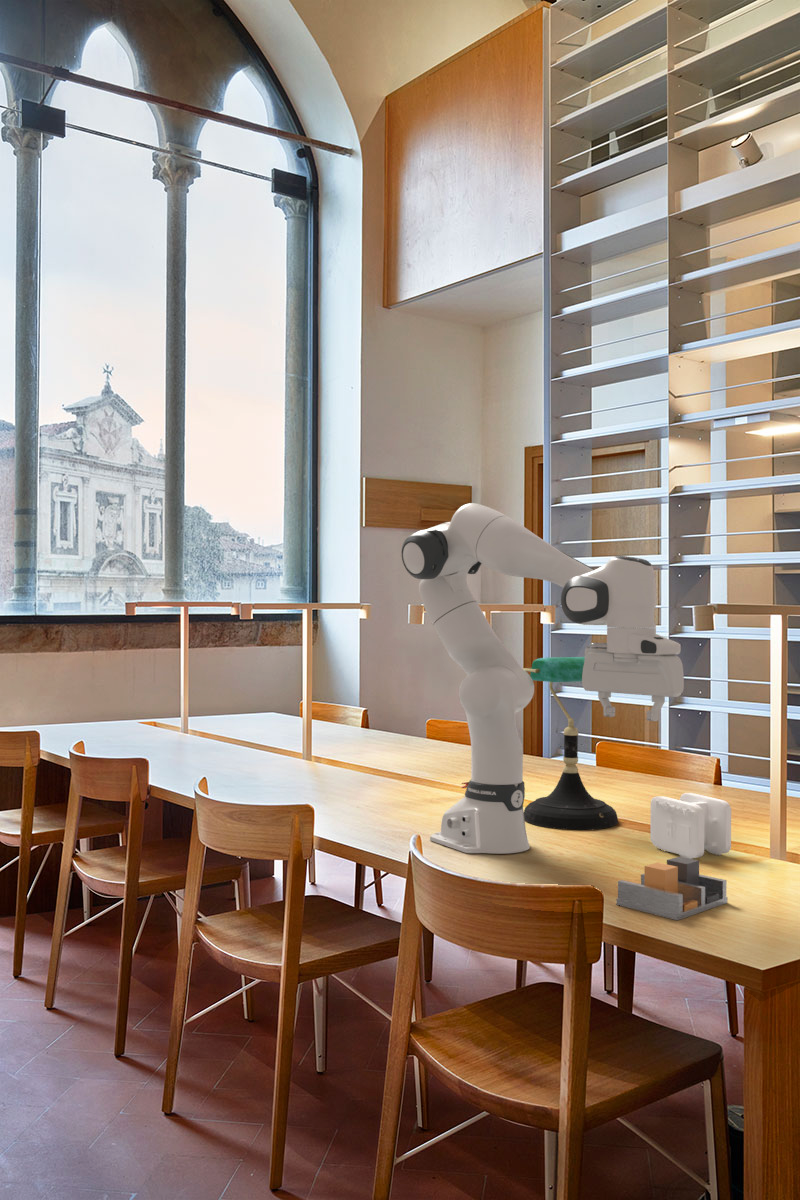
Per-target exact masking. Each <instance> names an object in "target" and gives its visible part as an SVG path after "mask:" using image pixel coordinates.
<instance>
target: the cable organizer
mask: <svg viewBox="0 0 800 1200" xmlns="http://www.w3.org/2000/svg"><path fill="white" fill-rule="evenodd" d="M649 830H650V831H649V832H650V835H649V836H650V842H651V844H653V846H654V847H655V848H657V849H658V850H659V849H662V850H665V851H668V852H670V853H674V854H677V855H679V857H684V858H689V859H697V858H702V856H704V854H705V850H706V851H707V852H708V853H710V854H713V855H716V856H722V855H723V854H727V853H729V852H730V851H731V848H732V807H731V804H729V802H728V801H726V800H724V799H719V798H716V797H711V796H708V795H707V796H706V795H702V794H698V793H695V792H684V793H682V794H681V796H680V797H679V799H676V798H673V797H668V796H663V795H662V796H659V795H658V796H654V797H652V798H651V800H650V829H649ZM665 851H664V852H665ZM668 852H667V853H668Z"/></svg>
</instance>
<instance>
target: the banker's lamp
mask: <svg viewBox="0 0 800 1200" xmlns="http://www.w3.org/2000/svg"><path fill="white" fill-rule="evenodd" d="M584 661H585V656H572V657H571V656H570V657H569V656H567V657H566V656H565V657H563V656H562V657H553V656H552V657H540V658H539V657H538V658H537V659H536V658H535V660H533V661H532V664H531V667H524V668H523V667H522V668H523V669H524V670H525V671H526V672H527V673H530V674H529V675H530V676H531V678H532V680H533V681H535V682H537V681H538V682H547V683H548V682H549V683H548V687H549V691H550V693H551V694H552V696H553V698H554V699H555V701H556V702H557V704H558V705H559V707H560V709H561V710H562V711H563V714H564V715H565V717H566V719H567V720H568V721H567V724H568V725H567V726H566V727H565V728H564V730H563V736H564V737H563V738H564V739H563V759H562V760H563V763H564V764H565V765H564V767H562V768H563V769H562V773H561V776H560V777H559V780H558V782H557V784H556V786H555V787H554V789H553V791H551V793H550V794H548V795H547V796H541V797H539V798H536V799H535V800H533V801H531V802H530V803H528V804H527V805H526V806H525V808H524V809H523V811H524V820H525V822H527V823H528V824H532V825H534V826H537V827H543V828H548V829H557V830H571V831H572V830H573V831H591V830H592V829H593V831H594V830H602V829H609V828H611V827H614V826H616V825H618V823H619V819H618V814H617V812H616V810H615V809H614V808H613V806H611V805H609V804H607V803H606V802H605V801H604V800H602V799H601V800H600V799H597V798H594V797H593V796H592V795H591V794H590V793H589V792H588V790H587V789H586V787H585V785H584V783H583V781H582V777H581V776H580V772H579V768H578V766H577V764H578V762H579V756H578V755H579V754H578V747H579V745H578V744H579V741H578V739H579V730H578V728H577V727H575V725H574V724H575V720H574V718H572V717H571V715H570V714H569V713H568V711H567V710H566V708H565V706H564V705H563V703H562V701H561V699H560V698H559V697H558V695H557V694H556V692H555V690H554V688H553V684H554V683H573V682H574V683H576V682H577V683H578V682H579V683H580V682H582V674H583V666H584Z"/></svg>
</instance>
